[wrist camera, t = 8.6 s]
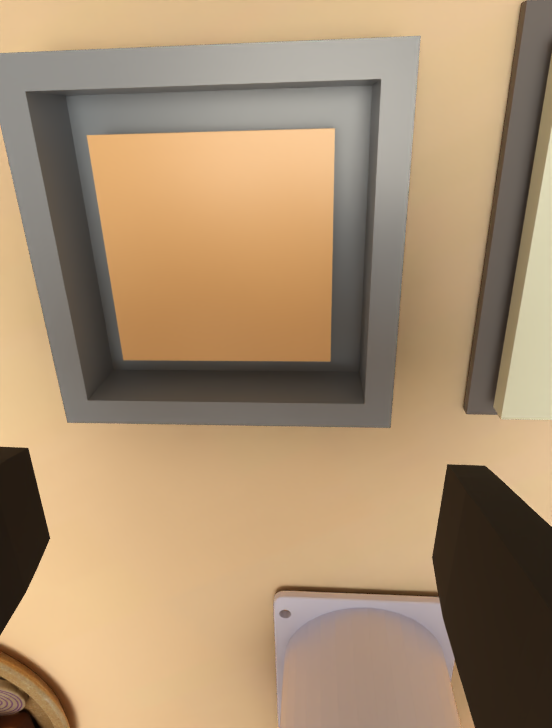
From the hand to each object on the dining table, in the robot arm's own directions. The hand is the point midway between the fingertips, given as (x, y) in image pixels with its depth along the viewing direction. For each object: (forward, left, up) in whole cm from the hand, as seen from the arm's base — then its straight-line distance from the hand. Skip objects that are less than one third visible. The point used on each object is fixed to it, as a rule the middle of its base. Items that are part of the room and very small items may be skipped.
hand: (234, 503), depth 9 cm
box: (+3, +1, -9) cm, 10 cm away
